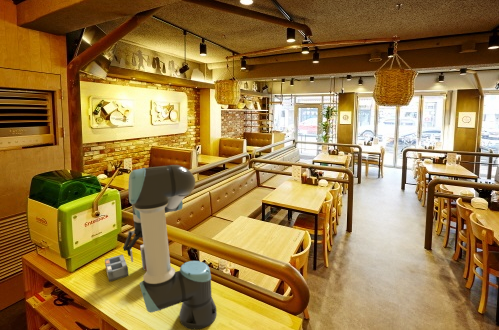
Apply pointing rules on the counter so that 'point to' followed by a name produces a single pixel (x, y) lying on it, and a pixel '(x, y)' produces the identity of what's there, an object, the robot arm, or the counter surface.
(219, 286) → the counter surface
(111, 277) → the port box
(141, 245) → the plug
